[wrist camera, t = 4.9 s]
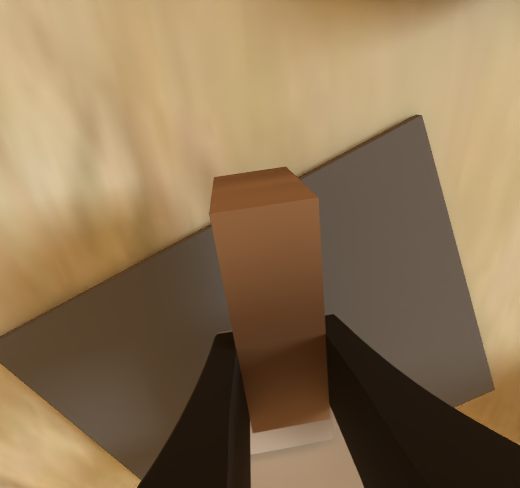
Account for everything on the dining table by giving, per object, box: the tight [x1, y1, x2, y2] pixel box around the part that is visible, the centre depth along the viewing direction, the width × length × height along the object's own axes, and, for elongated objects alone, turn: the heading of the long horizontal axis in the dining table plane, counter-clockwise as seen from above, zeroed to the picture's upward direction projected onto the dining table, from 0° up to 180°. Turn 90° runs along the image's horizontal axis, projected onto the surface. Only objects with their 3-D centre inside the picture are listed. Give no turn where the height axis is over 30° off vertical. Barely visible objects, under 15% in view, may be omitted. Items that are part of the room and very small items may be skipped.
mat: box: [0, 115, 495, 480], centre depth 18 cm, size 18×22×1 cm
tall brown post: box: [209, 167, 334, 455], centre depth 11 cm, size 13×4×4 cm, turn 8°
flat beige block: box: [251, 412, 364, 488], centre depth 16 cm, size 2×6×6 cm, turn 98°
